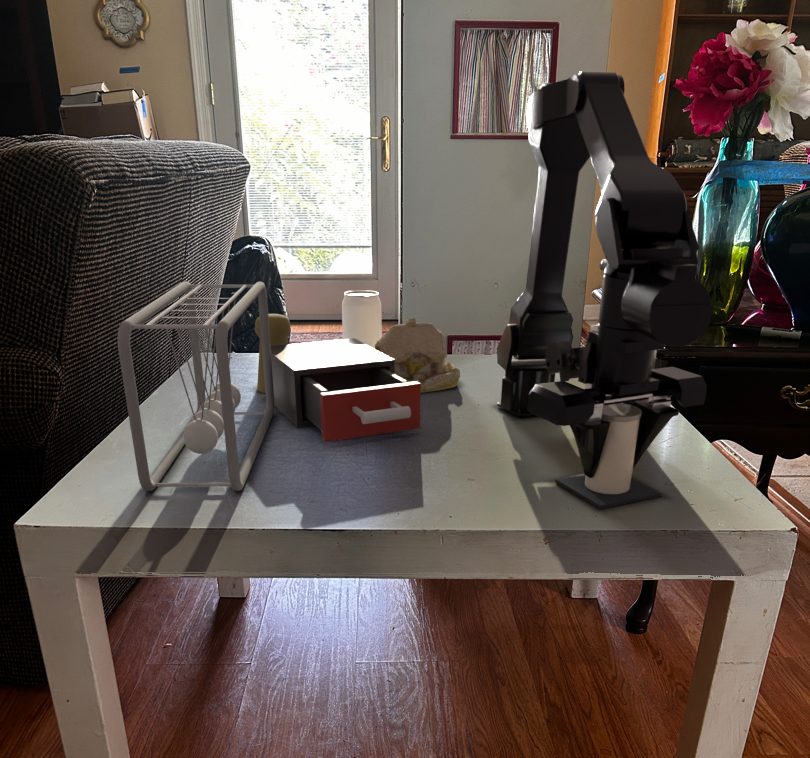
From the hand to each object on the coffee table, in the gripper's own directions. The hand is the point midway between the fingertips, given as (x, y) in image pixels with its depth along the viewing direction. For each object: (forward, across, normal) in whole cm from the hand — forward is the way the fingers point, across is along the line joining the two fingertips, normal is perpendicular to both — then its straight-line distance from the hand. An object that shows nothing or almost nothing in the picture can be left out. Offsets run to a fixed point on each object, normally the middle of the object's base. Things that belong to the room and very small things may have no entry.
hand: (608, 472), depth 84 cm
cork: (+2, +21, -53) cm, 57 cm away
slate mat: (+2, 0, 0) cm, 2 cm away
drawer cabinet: (+2, +17, -41) cm, 44 cm away
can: (+2, +4, -60) cm, 60 cm away
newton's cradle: (+2, +35, -30) cm, 46 cm away
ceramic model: (+2, +1, -47) cm, 47 cm away
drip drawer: (+1, +17, -29) cm, 34 cm away
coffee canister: (+2, 0, 0) cm, 2 cm away
